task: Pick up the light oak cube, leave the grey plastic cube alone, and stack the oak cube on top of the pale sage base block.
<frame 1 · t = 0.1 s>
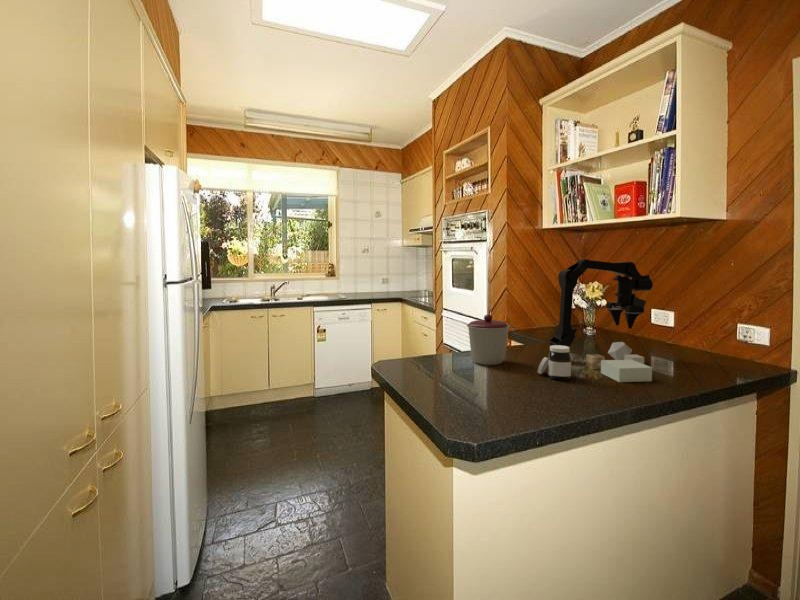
hand: (623, 326, 172), 15 cm above the worktop, tool pointing down, fingers open, 9 cm apart
grey cube: (633, 368, 160), on the worktop
oak cube: (594, 367, 162), on the worktop
sage base block: (625, 376, 148), on the worktop
die: (619, 360, 173), on the worktop
canister: (487, 363, 172), on the worktop
spread jar: (553, 377, 150), on the worktop
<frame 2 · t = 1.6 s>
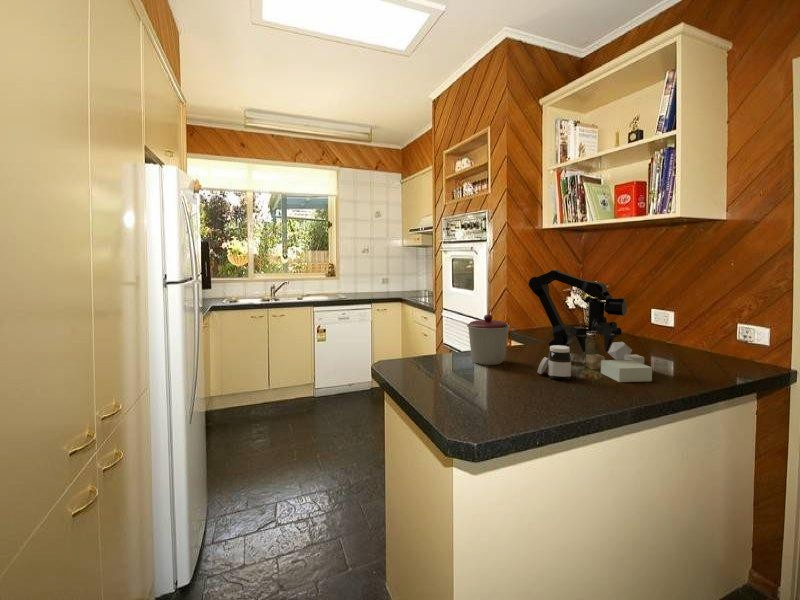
hand: (595, 351, 161), 7 cm above the worktop, tool pointing down, fingers open, 9 cm apart
nothing on the worktop moved.
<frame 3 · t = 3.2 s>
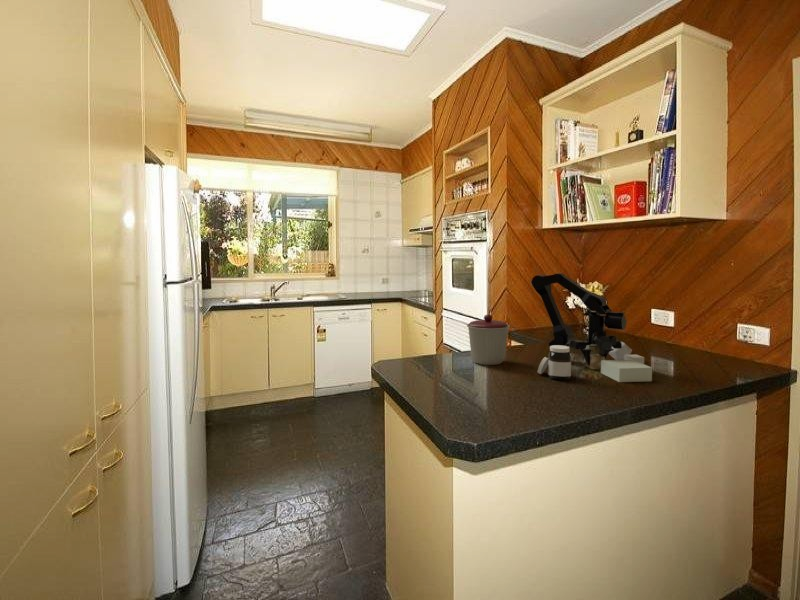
hand: (594, 365, 162), 1 cm above the worktop, tool pointing down, fingers closed on oak cube, 5 cm apart
oak cube: (594, 367, 162), on the worktop, touching gripper
everything else where it was.
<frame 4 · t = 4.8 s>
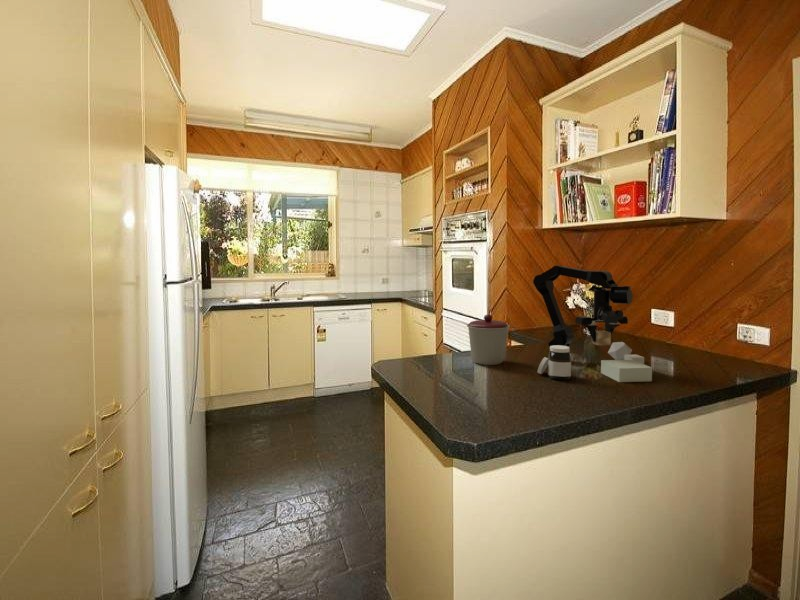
hand: (600, 341, 158), 11 cm above the worktop, tool pointing down, fingers closed on oak cube, 5 cm apart
oak cube: (600, 344, 159), point 10 cm above the worktop, touching gripper
everything else where it was.
when the fingers open (7 cm above the worktop, at t = 6.9 s): oak cube drops 1 cm, resting on sage base block.
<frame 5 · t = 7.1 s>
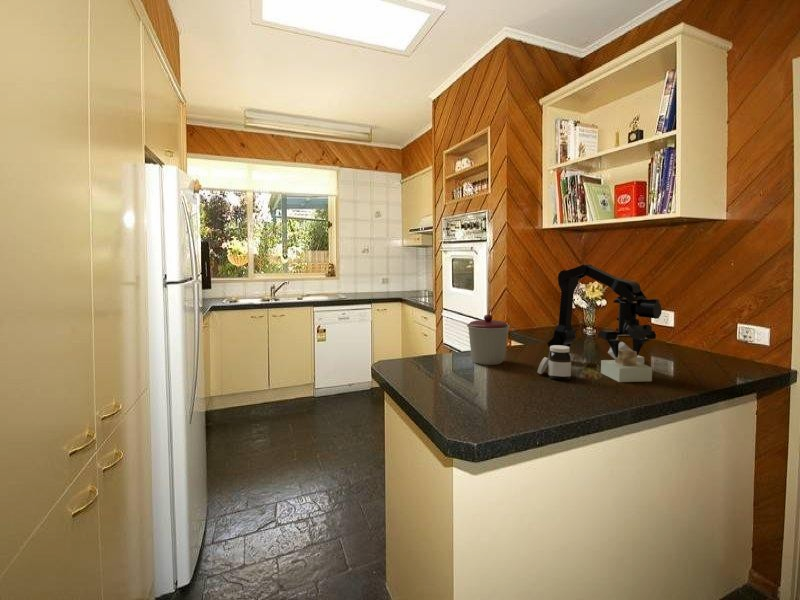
hand: (625, 357, 147), 7 cm above the worktop, tool pointing down, fingers open, 7 cm apart
oak cube: (625, 363, 148), point 5 cm above the worktop, touching sage base block
everything else where it was.
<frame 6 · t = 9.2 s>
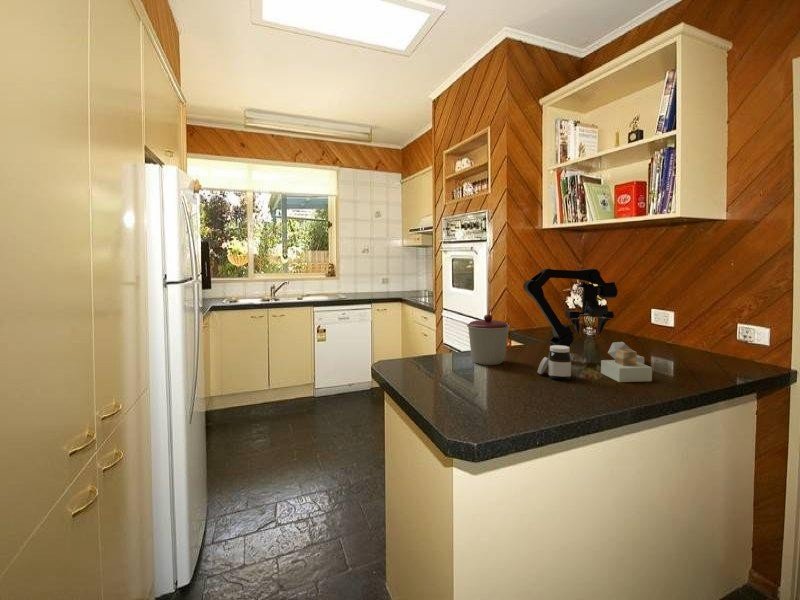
hand: (588, 334, 171), 12 cm above the worktop, tool pointing down, fingers open, 9 cm apart
nothing on the worktop moved.
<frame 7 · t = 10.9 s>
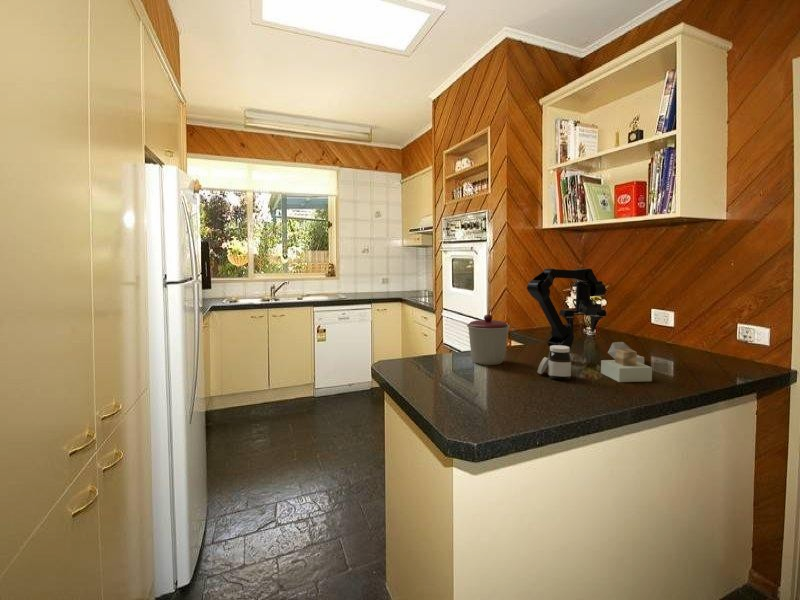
hand: (582, 332, 176), 12 cm above the worktop, tool pointing down, fingers open, 9 cm apart
nothing on the worktop moved.
at the end: oak cube inside the target area on the sage base block (0.0 cm from its centre), point 5.0 cm above the sage base block's base; oak cube tilted 0°; grey cube moved 0.1 cm from its start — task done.
